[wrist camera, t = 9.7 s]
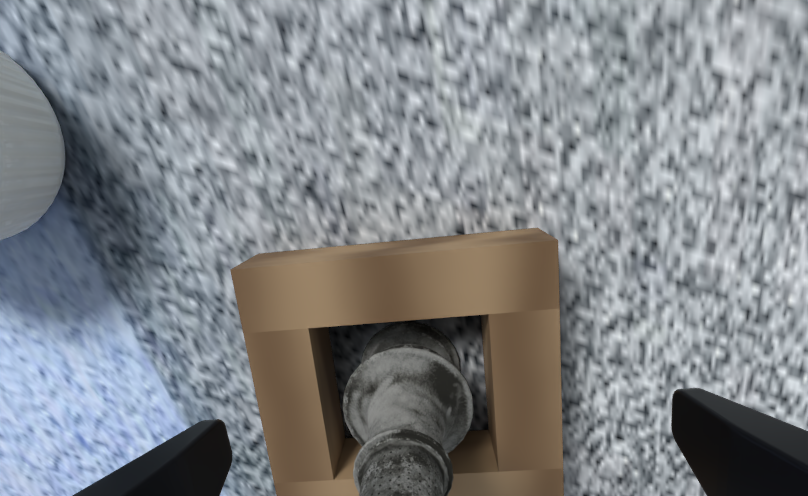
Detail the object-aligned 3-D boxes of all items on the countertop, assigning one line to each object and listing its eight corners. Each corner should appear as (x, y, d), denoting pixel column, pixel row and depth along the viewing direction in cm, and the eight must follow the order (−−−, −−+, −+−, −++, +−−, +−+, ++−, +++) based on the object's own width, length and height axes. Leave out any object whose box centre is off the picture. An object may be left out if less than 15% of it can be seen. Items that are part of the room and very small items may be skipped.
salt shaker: (344, 400, 22) (252, 678, 10) (370, 303, 21) (299, 495, 9) (447, 428, 22) (473, 736, 10) (479, 333, 21) (552, 564, 9)
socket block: (537, 227, 19) (557, 239, 16) (545, 473, 22) (564, 521, 19) (258, 253, 20) (230, 269, 17) (301, 485, 23) (284, 532, 20)
